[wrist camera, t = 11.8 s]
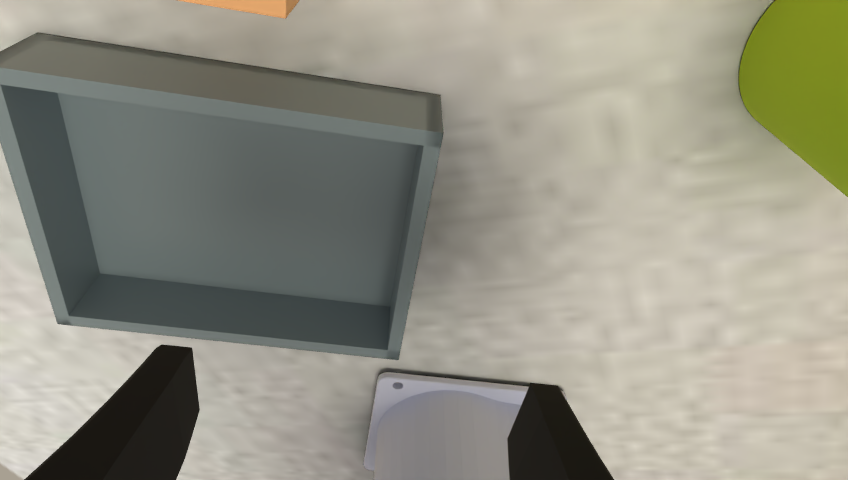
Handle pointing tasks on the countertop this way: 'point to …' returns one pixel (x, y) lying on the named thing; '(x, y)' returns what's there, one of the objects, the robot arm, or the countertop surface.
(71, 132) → the bin
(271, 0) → the letter cube
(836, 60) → the soap dispenser
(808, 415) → the countertop surface
